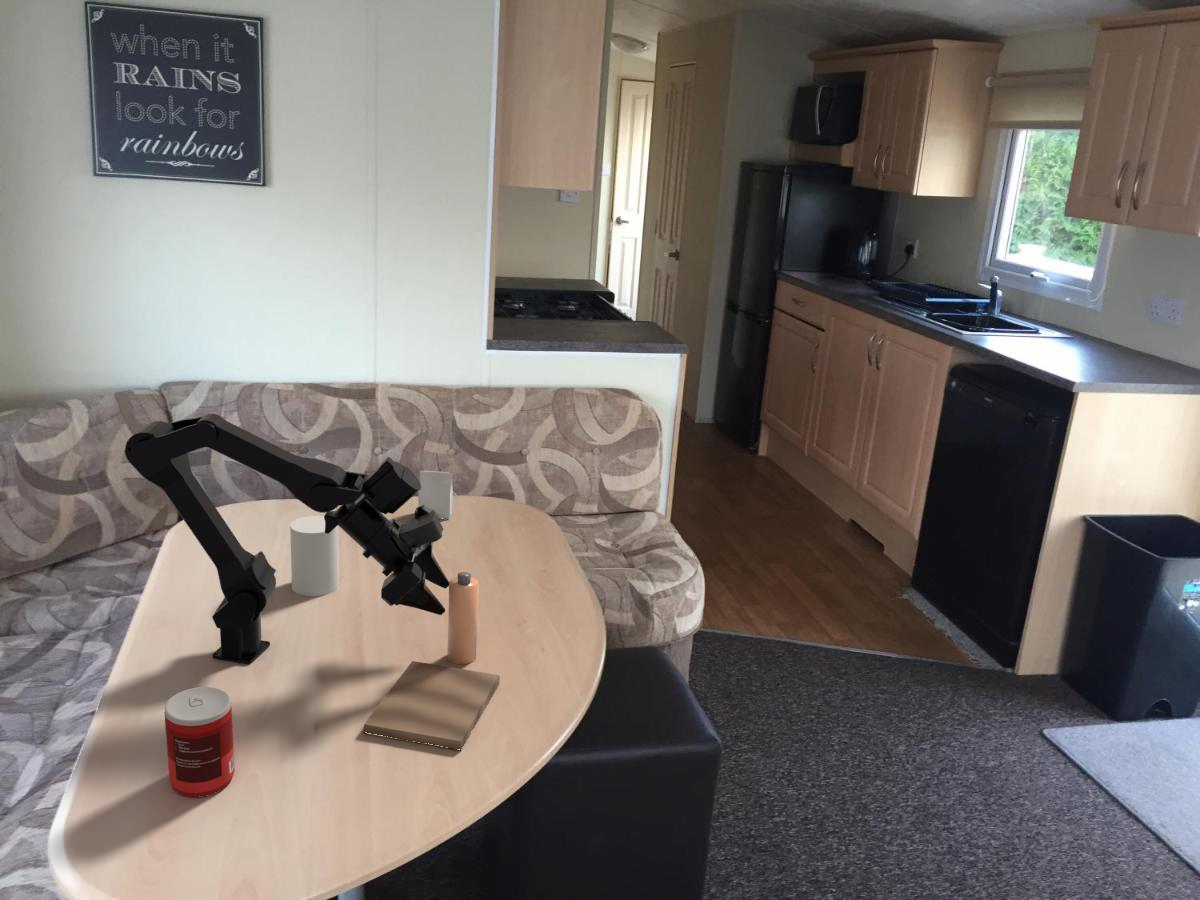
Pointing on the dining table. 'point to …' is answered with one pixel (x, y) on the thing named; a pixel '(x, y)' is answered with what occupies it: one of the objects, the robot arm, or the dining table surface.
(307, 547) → the white cylinder
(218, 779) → the canned food
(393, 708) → the cardboard sheet
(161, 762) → the dining table surface
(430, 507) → the light grey box
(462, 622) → the peach bottle with cap
